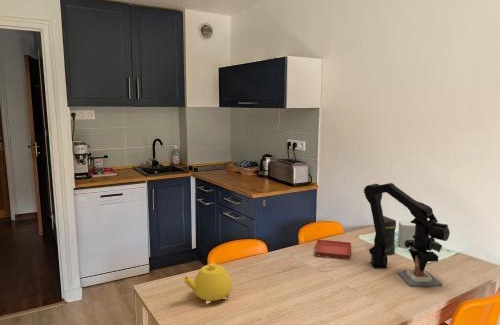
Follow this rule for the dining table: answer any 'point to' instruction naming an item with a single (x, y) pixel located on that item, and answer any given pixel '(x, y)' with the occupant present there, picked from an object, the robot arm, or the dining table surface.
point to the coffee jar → (390, 231)
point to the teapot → (211, 283)
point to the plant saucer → (333, 248)
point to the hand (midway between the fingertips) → (419, 268)
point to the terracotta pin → (418, 268)
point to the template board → (418, 279)
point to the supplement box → (405, 233)
